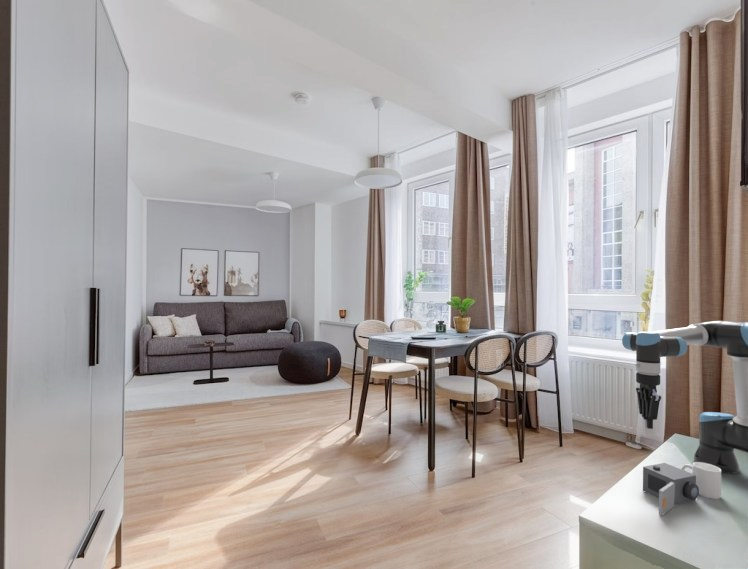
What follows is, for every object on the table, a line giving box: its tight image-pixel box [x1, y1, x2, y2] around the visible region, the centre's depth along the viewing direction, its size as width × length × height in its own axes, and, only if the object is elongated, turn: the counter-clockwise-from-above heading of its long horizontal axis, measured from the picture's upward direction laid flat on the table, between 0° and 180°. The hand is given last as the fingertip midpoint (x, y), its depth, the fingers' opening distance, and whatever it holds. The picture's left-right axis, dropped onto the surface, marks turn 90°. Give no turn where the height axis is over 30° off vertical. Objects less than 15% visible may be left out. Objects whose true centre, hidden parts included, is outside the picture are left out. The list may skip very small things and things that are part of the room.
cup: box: [680, 462, 722, 500], centre depth 151 cm, size 8×12×10 cm
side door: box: [658, 482, 676, 516], centre depth 136 cm, size 2×12×8 cm, turn 126°
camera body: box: [642, 462, 699, 506], centre depth 146 cm, size 12×13×10 cm
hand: (647, 436), depth 149 cm, fingers closed
